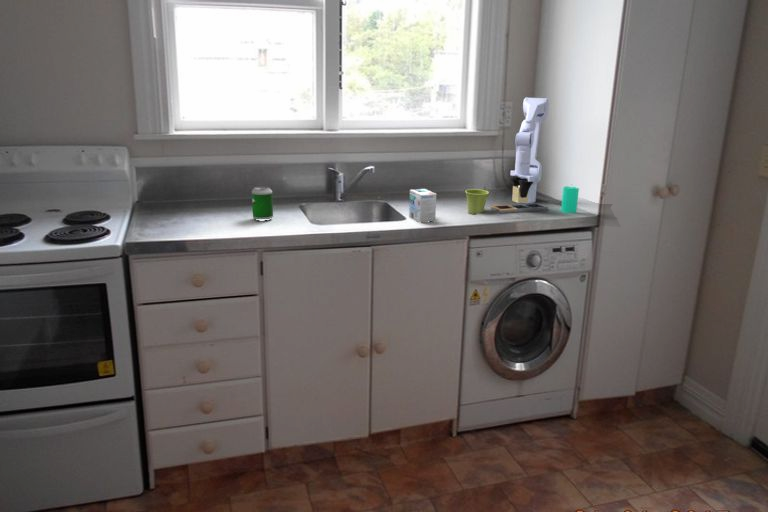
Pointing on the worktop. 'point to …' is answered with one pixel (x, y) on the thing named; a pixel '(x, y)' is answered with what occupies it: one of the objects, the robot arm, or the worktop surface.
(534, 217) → the worktop surface
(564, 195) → the candle
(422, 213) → the light bulb box
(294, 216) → the worktop surface
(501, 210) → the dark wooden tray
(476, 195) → the plant pot
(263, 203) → the soda can
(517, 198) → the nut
